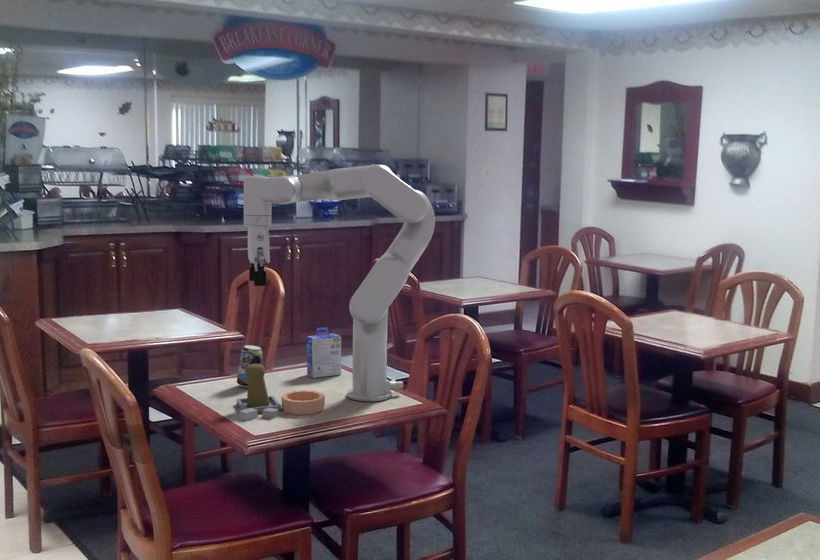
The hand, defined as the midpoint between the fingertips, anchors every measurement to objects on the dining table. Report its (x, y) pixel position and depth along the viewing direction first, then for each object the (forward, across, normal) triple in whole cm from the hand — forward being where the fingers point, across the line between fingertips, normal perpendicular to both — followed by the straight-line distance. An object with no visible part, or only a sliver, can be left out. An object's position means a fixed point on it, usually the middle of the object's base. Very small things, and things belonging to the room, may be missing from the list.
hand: (257, 283), depth 240 cm
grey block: (+32, -23, 0) cm, 39 cm away
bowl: (+31, -19, -10) cm, 38 cm away
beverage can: (+32, +7, +1) cm, 32 cm away
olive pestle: (+31, -15, +2) cm, 34 cm away
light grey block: (+32, -23, +5) cm, 39 cm away
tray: (+31, -15, +2) cm, 35 cm away
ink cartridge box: (+31, +16, -22) cm, 42 cm away
